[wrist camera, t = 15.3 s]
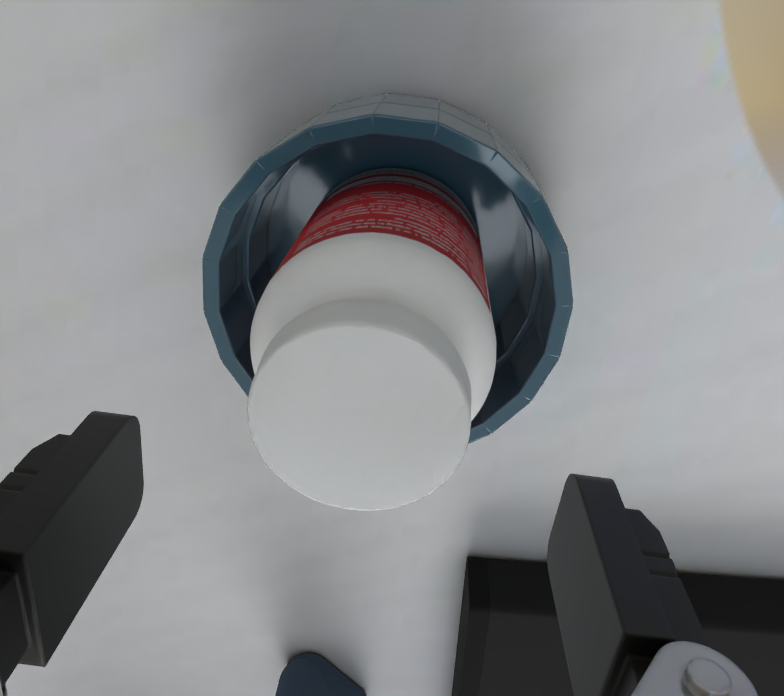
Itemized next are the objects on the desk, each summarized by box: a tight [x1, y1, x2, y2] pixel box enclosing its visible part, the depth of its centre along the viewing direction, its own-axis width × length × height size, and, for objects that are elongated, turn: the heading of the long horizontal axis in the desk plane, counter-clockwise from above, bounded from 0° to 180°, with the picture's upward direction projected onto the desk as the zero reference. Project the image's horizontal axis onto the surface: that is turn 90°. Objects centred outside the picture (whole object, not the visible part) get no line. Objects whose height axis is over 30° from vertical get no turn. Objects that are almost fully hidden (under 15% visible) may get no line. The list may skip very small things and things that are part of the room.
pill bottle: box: [247, 168, 497, 511], centre depth 19 cm, size 6×6×11 cm
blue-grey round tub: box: [203, 93, 573, 444], centre depth 22 cm, size 11×11×6 cm
